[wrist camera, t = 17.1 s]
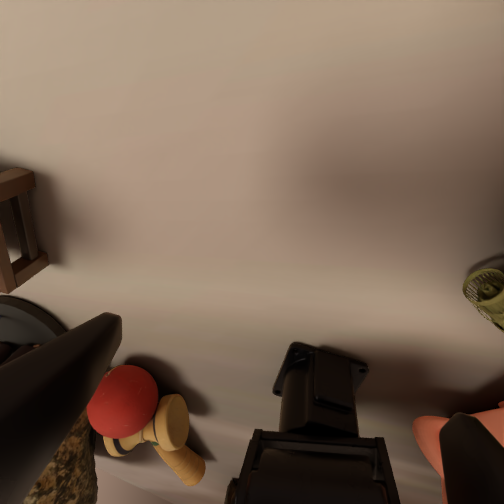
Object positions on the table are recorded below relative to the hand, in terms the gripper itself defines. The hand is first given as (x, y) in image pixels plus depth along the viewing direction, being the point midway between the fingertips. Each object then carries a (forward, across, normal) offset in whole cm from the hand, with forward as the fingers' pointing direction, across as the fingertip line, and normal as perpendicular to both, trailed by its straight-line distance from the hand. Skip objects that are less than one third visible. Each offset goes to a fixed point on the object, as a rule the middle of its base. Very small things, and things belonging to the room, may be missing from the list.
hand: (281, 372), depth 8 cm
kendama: (+13, +7, +27) cm, 31 cm away
